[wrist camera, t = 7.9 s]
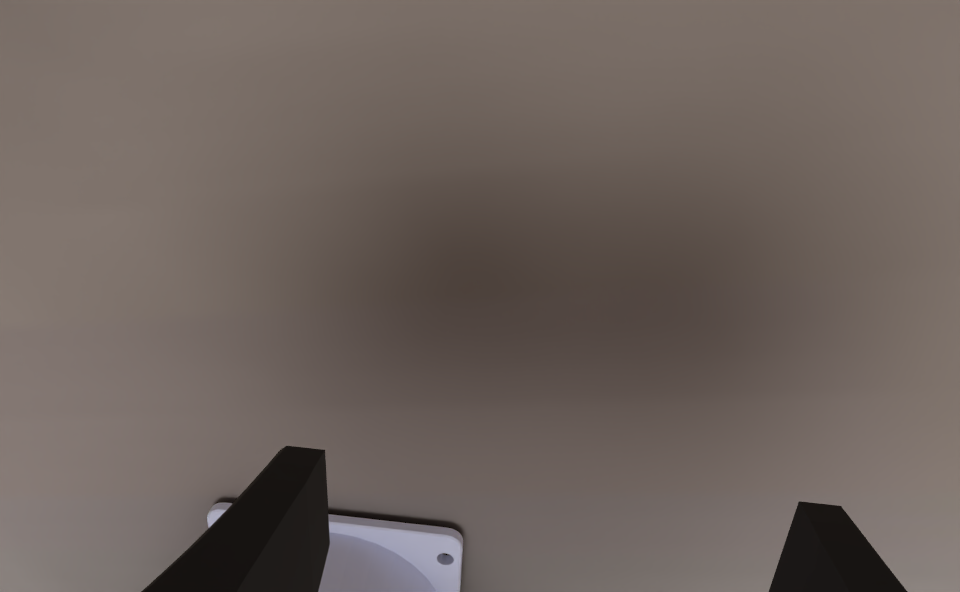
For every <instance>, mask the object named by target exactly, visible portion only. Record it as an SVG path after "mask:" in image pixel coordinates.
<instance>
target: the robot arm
mask: <svg viewBox="0 0 960 592" xmlns="http://www.w3.org/2000/svg"><path fill="white" fill-rule="evenodd" d="M207 522H208V530H207V531H206V532H205V533H204V534H203V535H202V536H201V537H200V538H199V539H198V540H197V541H196V542H195V543H194V544H193V545H192V546H191V547H190V548H189V549H188V550H187V551H185V552H184V553H183V554H182V555H181V556H180V557H179V558H178V559H177V560H176V561H175V562H174V563H172V564H171V565H170V566H169V567H168V568H167V569H166V570H165V571H164V572H163V573H162V574H161V575H159V576H158V577H157V578H156V579H155V580H154V581H153V582H152V583H151V584H150V585H149V586H147V587H146V588H145V589H144V590H143V591H142V592H460V586H461V569H462V553H463V538H462V536H461V534H460V533H459V532H458V531H456V530H454V529H451V528H447V527H438V526H429V525H420V524H411V523H402V522H394V521H385V520H376V519H367V518H358V517H349V516H340V515H332V514H328V498H327V480H326V461H325V450H320V449H311V448H301V447H292V446H286V447H284V448H283V449H281V450H280V451H279V452H278V453H277V454H276V456H275V457H274V458H273V459H272V460H271V461H270V463H269V464H268V465H267V466H266V467H265V468H264V469H263V471H262V472H261V473H260V474H259V475H258V476H257V477H256V479H255V480H254V481H253V482H252V483H251V484H250V485H249V486H248V487H247V489H246V490H245V491H244V492H243V493H242V494H241V495H240V496H239V497H238V498H237V499H236V500H235V502H234V503H225V502H224V503H217V504H214V505H213V506H212V508H211V509H210V511H209V513H208V516H207ZM442 553H447V554H450V555H444V554H442ZM769 592H907V591H906V590H905V588H904V587H903V586H902V584H901V583H900V582H899V581H898V579H897V578H896V577H895V576H894V574H893V573H892V572H891V570H890V569H889V568H888V567H887V565H886V564H885V563H884V561H883V560H882V559H881V558H880V556H879V555H878V554H877V552H876V551H875V550H874V548H873V547H872V546H871V544H870V543H869V542H868V541H867V539H866V538H865V537H864V535H863V534H862V533H861V531H860V530H859V529H858V528H857V526H856V525H855V524H854V522H853V521H852V520H851V519H850V517H849V516H848V515H847V513H846V512H845V511H844V510H843V508H842V507H841V506H835V505H826V504H817V503H808V502H799V503H798V506H797V509H796V512H795V515H794V518H793V521H792V524H791V527H790V530H789V533H788V536H787V539H786V542H785V545H784V548H783V551H782V554H781V557H780V560H779V563H778V566H777V569H776V572H775V575H774V578H773V581H772V584H771V587H770V590H769Z"/></svg>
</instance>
